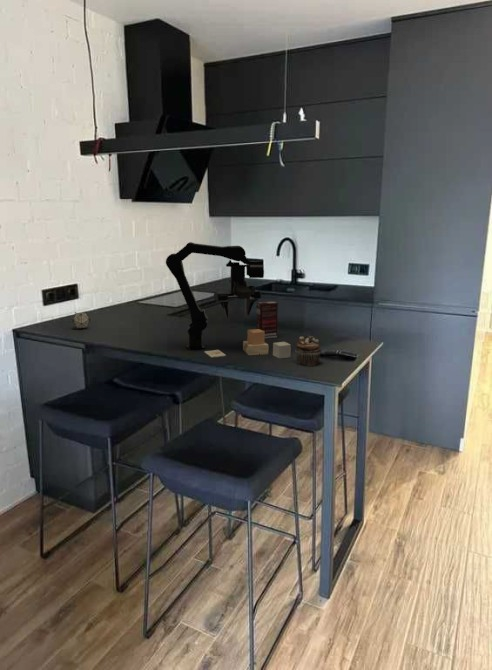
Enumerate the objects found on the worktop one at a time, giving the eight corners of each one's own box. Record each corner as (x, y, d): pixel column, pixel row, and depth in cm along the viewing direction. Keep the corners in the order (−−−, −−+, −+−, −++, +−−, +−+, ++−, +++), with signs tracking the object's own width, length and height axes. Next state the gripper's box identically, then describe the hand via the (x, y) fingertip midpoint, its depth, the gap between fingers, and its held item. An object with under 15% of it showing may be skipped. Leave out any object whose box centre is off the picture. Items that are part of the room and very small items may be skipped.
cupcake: (289, 360, 178) (290, 335, 175) (309, 357, 182) (311, 332, 180) (305, 367, 170) (306, 340, 167) (326, 363, 175) (327, 337, 172)
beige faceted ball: (85, 335, 227) (95, 317, 230) (85, 332, 219) (95, 314, 222) (67, 326, 225) (77, 308, 228) (66, 324, 217) (77, 305, 220)
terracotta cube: (247, 342, 189) (247, 330, 188) (258, 341, 191) (258, 328, 190) (253, 345, 185) (253, 332, 183) (264, 344, 187) (264, 331, 186)
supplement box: (272, 335, 216) (273, 300, 213) (277, 337, 212) (278, 302, 208) (255, 336, 213) (255, 301, 209) (259, 339, 209) (260, 303, 205)
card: (204, 352, 187) (204, 351, 187) (218, 350, 190) (218, 349, 190) (211, 357, 180) (211, 356, 180) (225, 356, 183) (225, 354, 183)
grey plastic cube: (272, 355, 185) (273, 342, 184) (284, 353, 187) (284, 341, 186) (278, 358, 181) (279, 346, 179) (290, 357, 183) (290, 344, 181)
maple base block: (243, 350, 192) (243, 341, 191) (261, 349, 194) (262, 339, 193) (248, 355, 184) (248, 346, 183) (268, 354, 187) (268, 344, 186)
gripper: (223, 281, 178) (223, 322, 181) (267, 279, 185) (267, 318, 189) (212, 278, 187) (213, 316, 191) (255, 276, 195) (255, 313, 199)
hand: (237, 316), depth 192 cm, fingers open, 9 cm apart
